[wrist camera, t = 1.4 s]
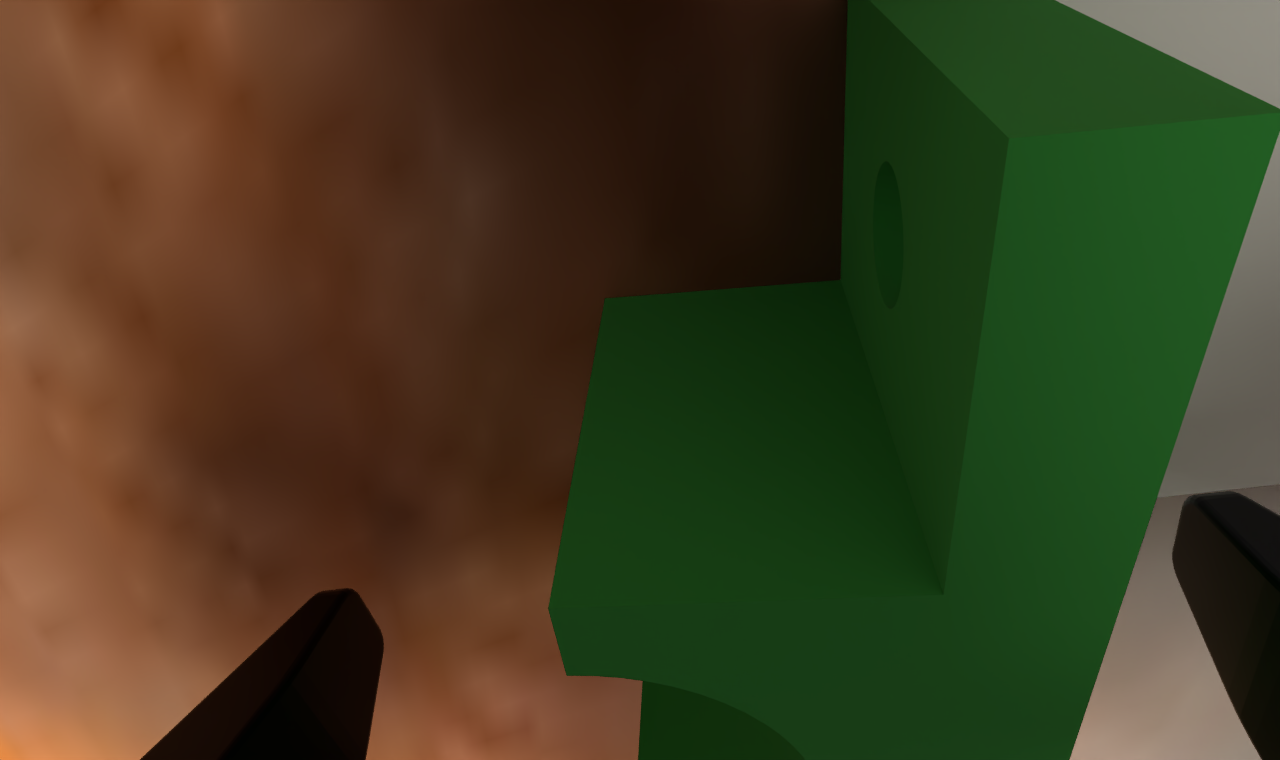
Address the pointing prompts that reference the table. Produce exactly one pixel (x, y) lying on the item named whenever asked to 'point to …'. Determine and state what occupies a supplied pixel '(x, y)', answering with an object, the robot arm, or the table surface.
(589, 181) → the table surface
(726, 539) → the pipe clamp
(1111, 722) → the table surface
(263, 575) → the table surface
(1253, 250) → the mat
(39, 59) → the table surface
